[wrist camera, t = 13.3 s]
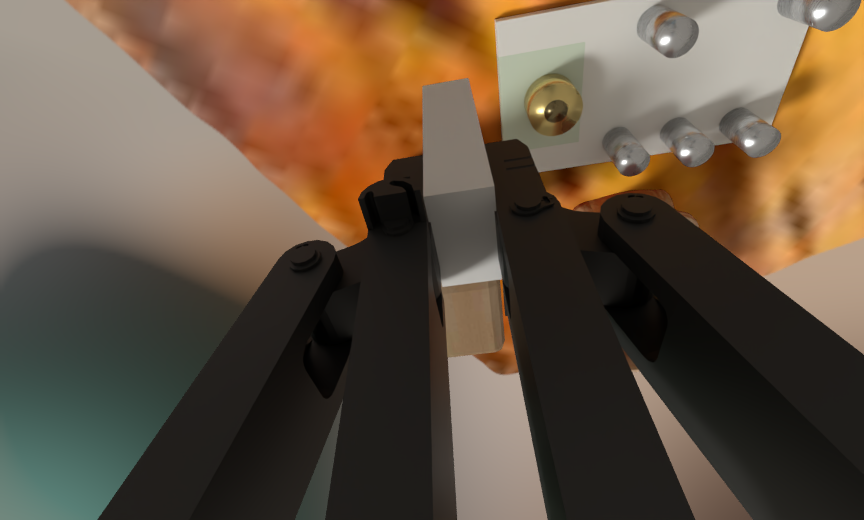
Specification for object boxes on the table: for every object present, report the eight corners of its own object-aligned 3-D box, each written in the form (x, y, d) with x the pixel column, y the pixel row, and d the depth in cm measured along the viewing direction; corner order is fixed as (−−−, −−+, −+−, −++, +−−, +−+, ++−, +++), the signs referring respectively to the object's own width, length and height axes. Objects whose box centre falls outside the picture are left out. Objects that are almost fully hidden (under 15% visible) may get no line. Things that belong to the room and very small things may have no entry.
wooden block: (405, 235, 55) (399, 367, 40) (387, 167, 49) (372, 294, 34) (483, 224, 54) (506, 355, 39) (475, 153, 48) (500, 277, 33)
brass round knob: (520, 81, 42) (525, 93, 39) (573, 66, 41) (581, 77, 38) (527, 128, 45) (532, 142, 42) (576, 116, 44) (584, 128, 42)
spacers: (615, 12, 38) (637, 26, 34) (822, -26, 36) (869, -16, 32) (600, 154, 47) (616, 178, 43) (765, 129, 45) (796, 151, 42)
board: (494, 19, 39) (496, 22, 38) (825, -43, 36) (834, -42, 35) (503, 172, 49) (505, 177, 49) (761, 133, 47) (766, 137, 46)
